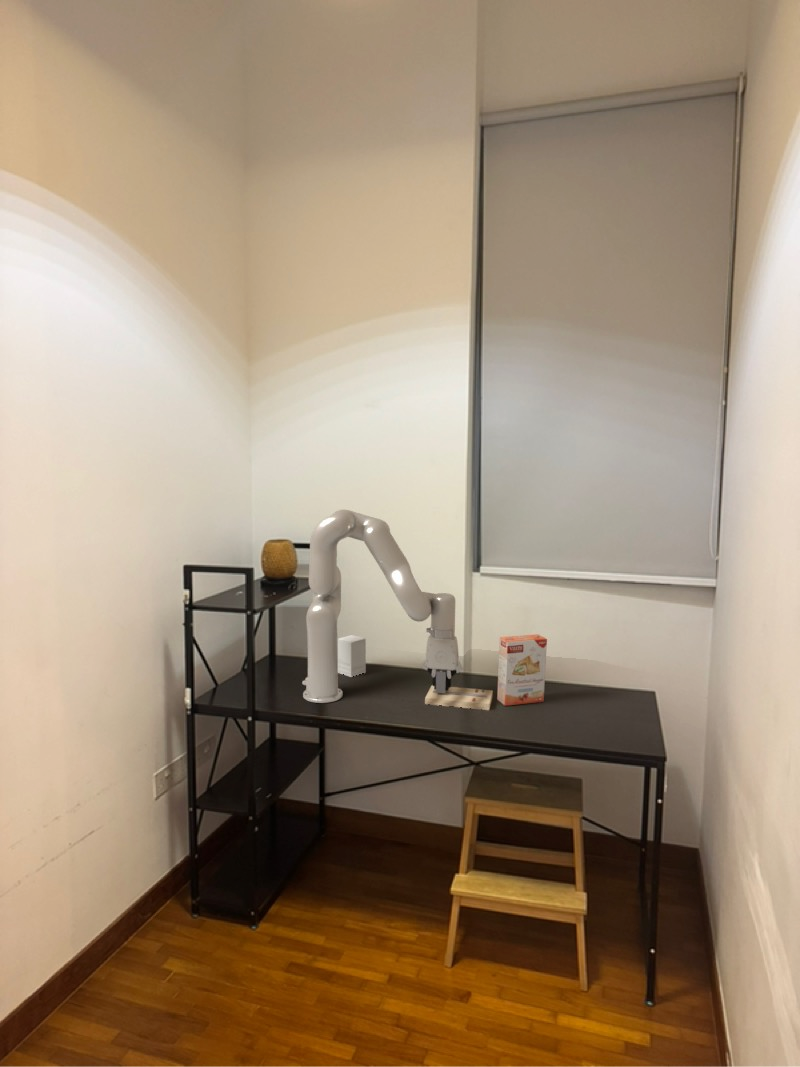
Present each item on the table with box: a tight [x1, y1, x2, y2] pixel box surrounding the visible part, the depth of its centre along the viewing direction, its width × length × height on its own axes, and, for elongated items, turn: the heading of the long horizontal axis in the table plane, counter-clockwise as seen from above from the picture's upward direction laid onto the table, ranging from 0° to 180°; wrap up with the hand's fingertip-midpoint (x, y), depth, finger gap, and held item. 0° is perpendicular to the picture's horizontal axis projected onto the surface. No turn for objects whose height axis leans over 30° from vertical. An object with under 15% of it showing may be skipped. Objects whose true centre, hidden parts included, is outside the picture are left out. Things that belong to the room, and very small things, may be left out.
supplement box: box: [338, 634, 367, 678], centre depth 243 cm, size 7×7×13 cm
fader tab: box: [436, 669, 447, 694], centre depth 219 cm, size 3×4×7 cm, turn 167°
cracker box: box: [496, 633, 548, 707], centre depth 217 cm, size 14×6×21 cm, turn 109°
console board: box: [424, 684, 494, 711], centre depth 219 cm, size 20×12×2 cm, turn 77°
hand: (441, 688), depth 220 cm, fingers closed on fader tab, 3 cm apart
